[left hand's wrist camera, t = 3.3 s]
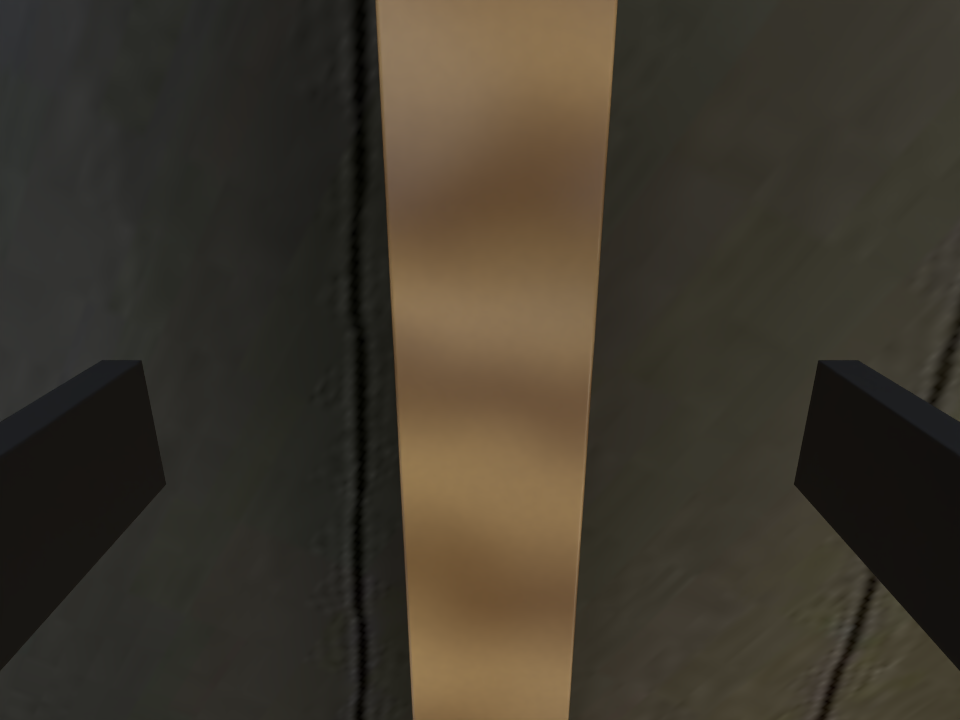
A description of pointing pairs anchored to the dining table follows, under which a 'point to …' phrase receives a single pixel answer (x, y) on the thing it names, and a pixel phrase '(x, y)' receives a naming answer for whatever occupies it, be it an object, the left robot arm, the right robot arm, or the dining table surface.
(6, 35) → the dining table surface
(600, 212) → the bar
